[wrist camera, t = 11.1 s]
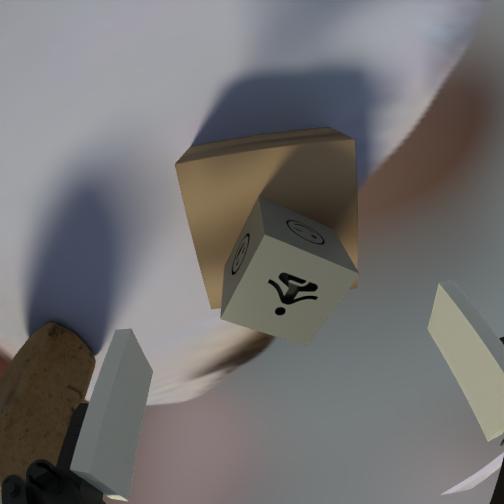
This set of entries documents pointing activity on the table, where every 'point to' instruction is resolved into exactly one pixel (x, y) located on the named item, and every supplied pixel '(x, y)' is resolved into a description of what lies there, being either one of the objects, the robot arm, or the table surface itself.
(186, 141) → the table surface
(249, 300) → the dice cube
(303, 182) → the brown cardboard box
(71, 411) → the brown oblong lump
